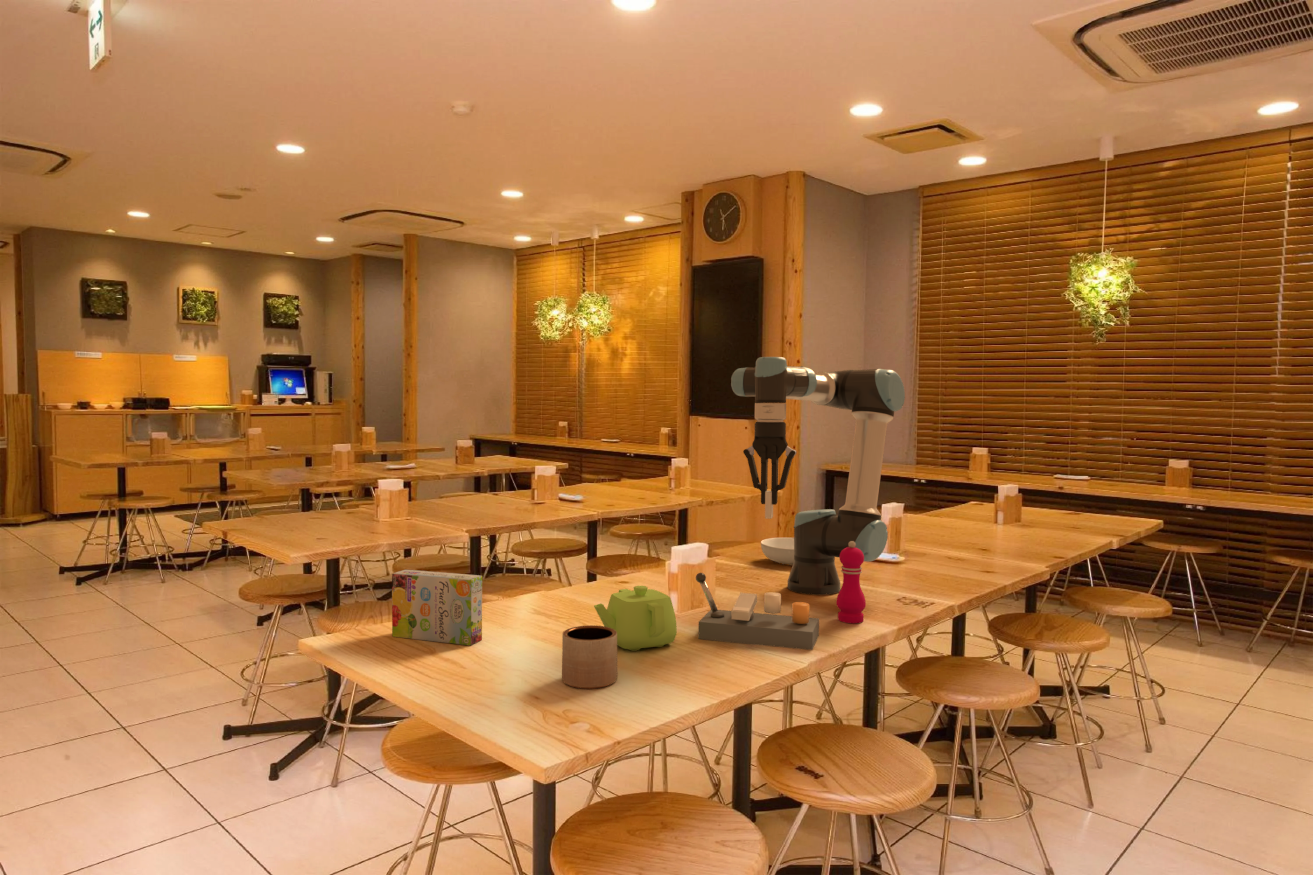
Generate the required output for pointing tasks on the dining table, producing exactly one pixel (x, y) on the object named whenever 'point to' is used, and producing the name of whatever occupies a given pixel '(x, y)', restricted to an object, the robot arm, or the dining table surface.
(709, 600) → the lever
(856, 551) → the pepper mill
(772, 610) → the button cream
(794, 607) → the button orange
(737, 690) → the dining table surface
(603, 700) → the dining table surface
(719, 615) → the console
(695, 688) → the dining table surface
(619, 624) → the teapot
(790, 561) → the serving bowl
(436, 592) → the snack box
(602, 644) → the planter
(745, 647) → the dining table surface
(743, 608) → the rocker
